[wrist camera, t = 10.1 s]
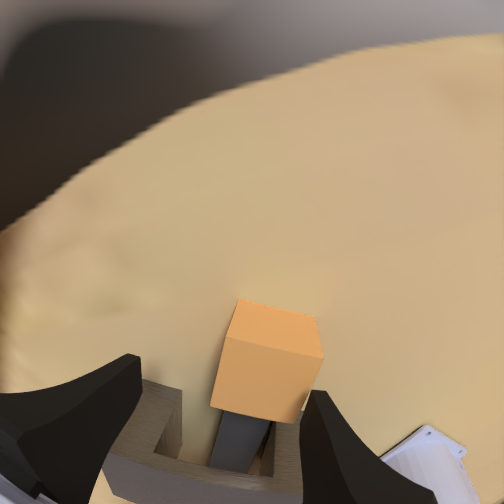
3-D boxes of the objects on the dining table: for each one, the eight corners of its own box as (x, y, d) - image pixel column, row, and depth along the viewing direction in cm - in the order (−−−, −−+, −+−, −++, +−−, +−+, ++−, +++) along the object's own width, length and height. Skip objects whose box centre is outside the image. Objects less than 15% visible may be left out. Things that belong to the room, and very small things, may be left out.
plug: (246, 478, 19) (240, 515, 15) (198, 467, 19) (187, 503, 15) (314, 316, 15) (324, 358, 11) (239, 298, 15) (225, 336, 11)
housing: (300, 463, 18) (300, 533, 11) (145, 434, 18) (113, 494, 12) (323, 412, 16) (333, 494, 10) (138, 378, 17) (92, 445, 11)
